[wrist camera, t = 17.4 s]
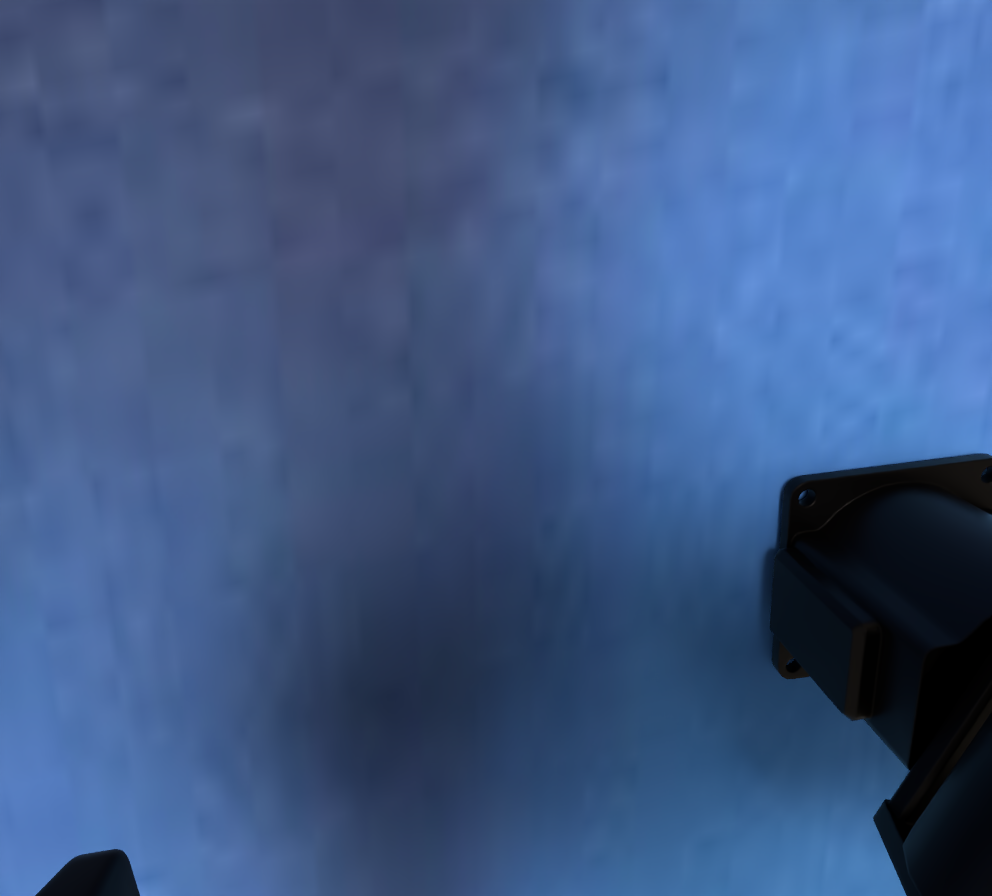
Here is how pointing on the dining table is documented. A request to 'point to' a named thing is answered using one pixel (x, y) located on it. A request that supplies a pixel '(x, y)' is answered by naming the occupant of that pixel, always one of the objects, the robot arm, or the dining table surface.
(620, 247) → the dining table surface
